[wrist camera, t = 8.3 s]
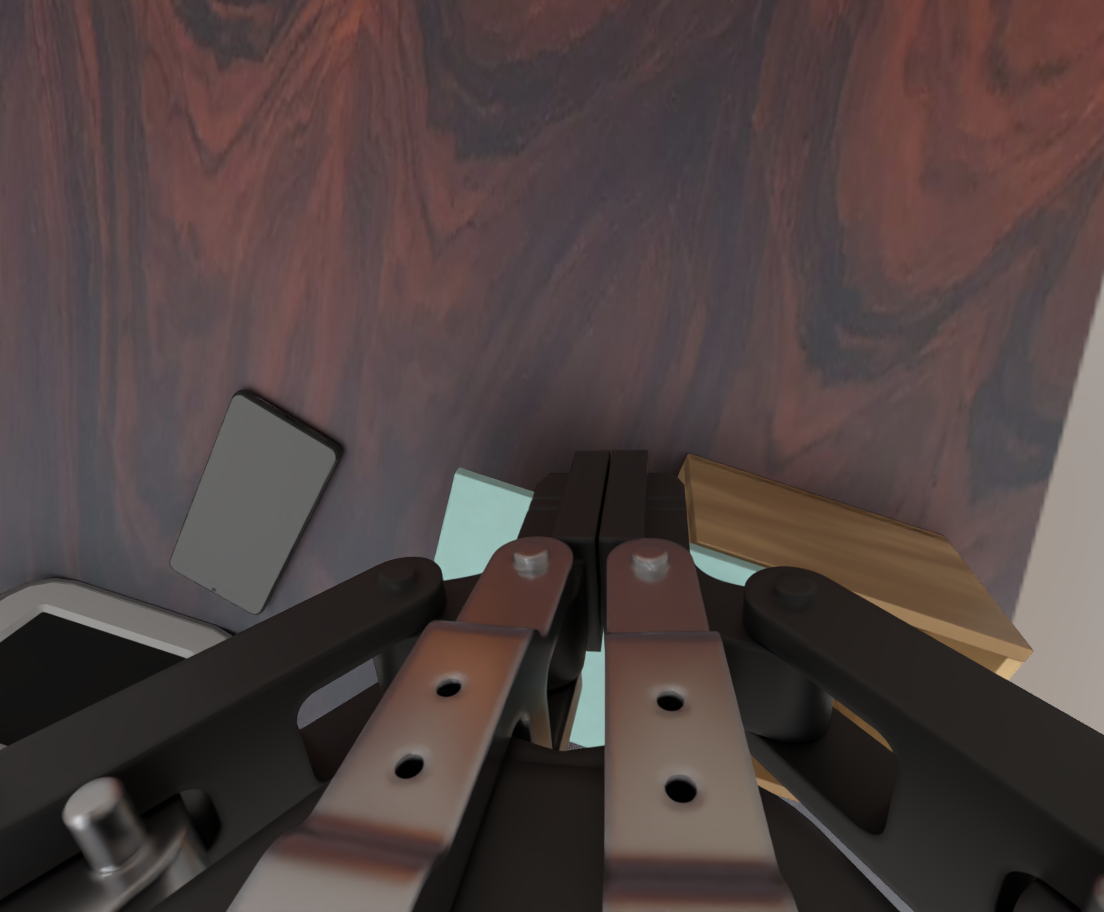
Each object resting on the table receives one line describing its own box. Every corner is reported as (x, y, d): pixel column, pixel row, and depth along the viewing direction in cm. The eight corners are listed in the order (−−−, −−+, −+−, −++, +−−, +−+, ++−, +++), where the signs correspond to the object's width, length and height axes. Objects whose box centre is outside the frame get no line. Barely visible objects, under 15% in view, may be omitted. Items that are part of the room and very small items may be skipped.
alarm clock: (254, 638, 44) (69, 855, 30) (247, 741, 49) (86, 969, 35) (40, 568, 45) (-241, 751, 31) (55, 678, 50) (-181, 879, 36)
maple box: (687, 452, 33) (697, 540, 26) (944, 535, 33) (1034, 651, 25) (614, 622, 39) (604, 738, 31) (835, 694, 39) (881, 830, 31)
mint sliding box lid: (458, 466, 25) (430, 510, 22) (795, 576, 25) (816, 636, 22) (407, 677, 31) (378, 737, 28) (684, 769, 31) (687, 840, 27)
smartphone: (341, 452, 36) (257, 619, 42) (348, 446, 36) (265, 610, 43) (233, 387, 35) (164, 567, 41) (242, 382, 36) (174, 559, 42)
